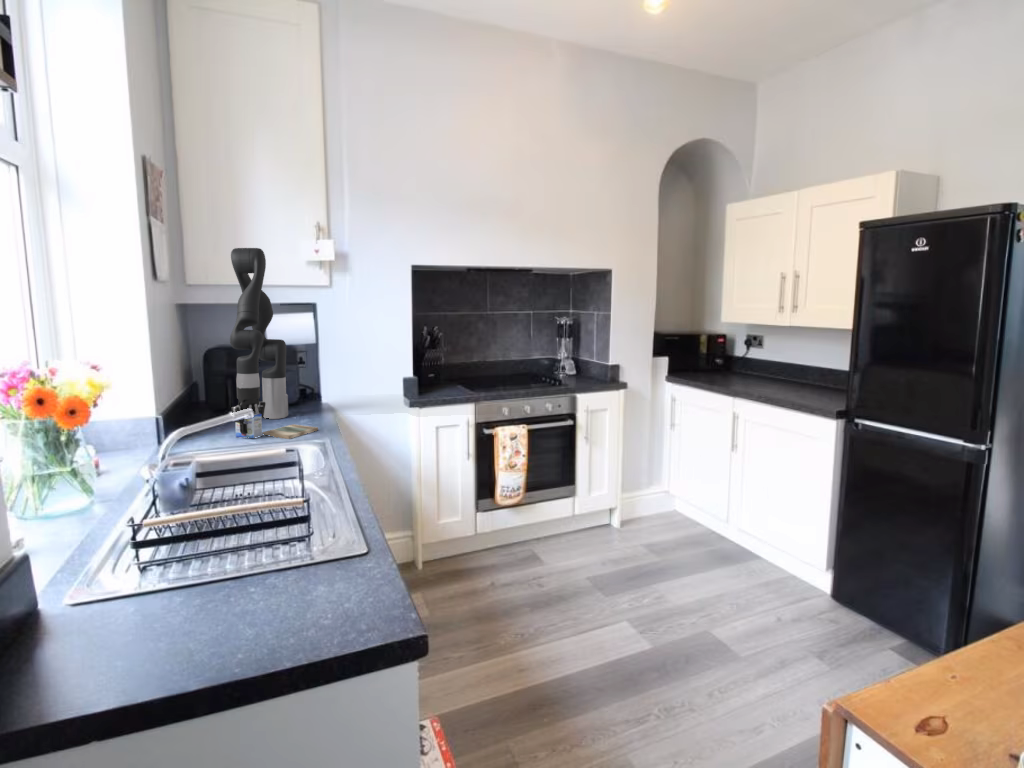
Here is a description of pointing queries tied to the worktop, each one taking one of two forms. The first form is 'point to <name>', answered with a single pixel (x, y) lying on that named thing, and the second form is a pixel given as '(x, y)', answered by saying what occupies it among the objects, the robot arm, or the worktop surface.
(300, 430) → the board
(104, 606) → the worktop surface
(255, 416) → the medicine box
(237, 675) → the worktop surface
